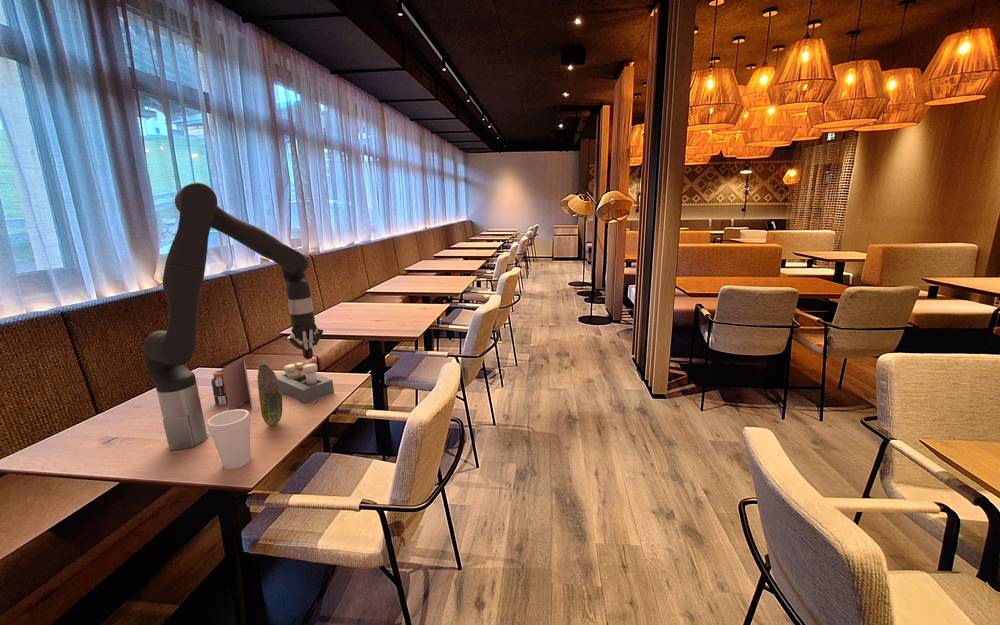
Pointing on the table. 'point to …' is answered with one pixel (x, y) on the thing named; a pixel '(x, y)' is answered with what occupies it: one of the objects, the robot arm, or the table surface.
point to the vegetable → (269, 395)
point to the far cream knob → (290, 370)
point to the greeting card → (236, 384)
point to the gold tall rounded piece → (300, 370)
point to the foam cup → (231, 437)
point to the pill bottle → (219, 388)
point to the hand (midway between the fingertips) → (308, 358)
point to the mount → (305, 388)
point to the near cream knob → (310, 373)
